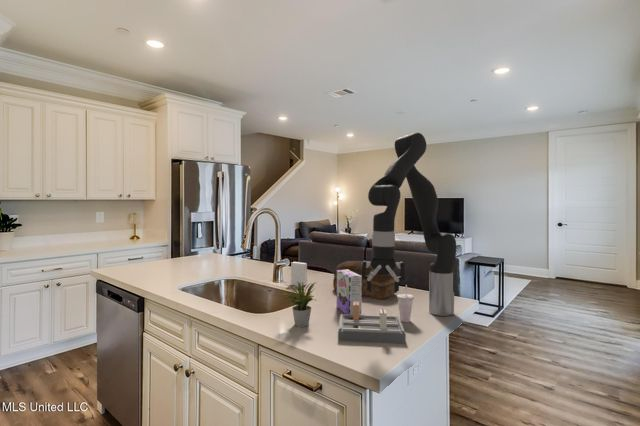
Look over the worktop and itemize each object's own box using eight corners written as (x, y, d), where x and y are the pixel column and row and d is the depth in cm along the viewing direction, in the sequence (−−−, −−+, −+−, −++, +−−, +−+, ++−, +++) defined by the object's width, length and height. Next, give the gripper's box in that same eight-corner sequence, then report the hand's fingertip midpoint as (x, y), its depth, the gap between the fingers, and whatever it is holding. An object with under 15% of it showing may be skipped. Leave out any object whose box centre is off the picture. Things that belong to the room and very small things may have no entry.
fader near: (385, 325, 121) (385, 308, 121) (386, 329, 116) (386, 312, 116) (379, 324, 121) (379, 308, 121) (380, 329, 116) (380, 312, 116)
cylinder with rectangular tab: (310, 283, 195) (310, 262, 194) (300, 287, 187) (301, 264, 187) (297, 281, 199) (297, 260, 199) (287, 285, 192) (287, 263, 191)
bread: (385, 301, 162) (385, 267, 162) (329, 290, 182) (329, 259, 181) (398, 294, 174) (399, 262, 173) (345, 284, 193) (345, 256, 193)
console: (399, 325, 130) (399, 315, 130) (405, 343, 114) (405, 331, 114) (339, 323, 132) (340, 313, 132) (338, 340, 116) (338, 329, 116)
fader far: (358, 316, 130) (358, 301, 129) (358, 320, 125) (359, 304, 125) (353, 316, 130) (353, 300, 130) (353, 320, 125) (353, 304, 125)
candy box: (335, 307, 152) (336, 269, 152) (348, 305, 154) (348, 268, 154) (348, 317, 139) (349, 276, 139) (362, 315, 141) (362, 275, 141)
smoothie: (401, 324, 132) (402, 287, 131) (393, 318, 138) (394, 283, 137) (416, 322, 133) (417, 286, 133) (408, 317, 140) (408, 282, 139)
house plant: (302, 314, 142) (302, 274, 142) (328, 322, 134) (329, 279, 133) (276, 324, 131) (276, 280, 131) (303, 332, 123) (303, 286, 122)
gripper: (403, 243, 121) (402, 290, 121) (361, 242, 122) (361, 288, 123) (406, 246, 113) (405, 295, 114) (362, 245, 115) (361, 294, 115)
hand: (382, 292), depth 118 cm, fingers open, 8 cm apart
